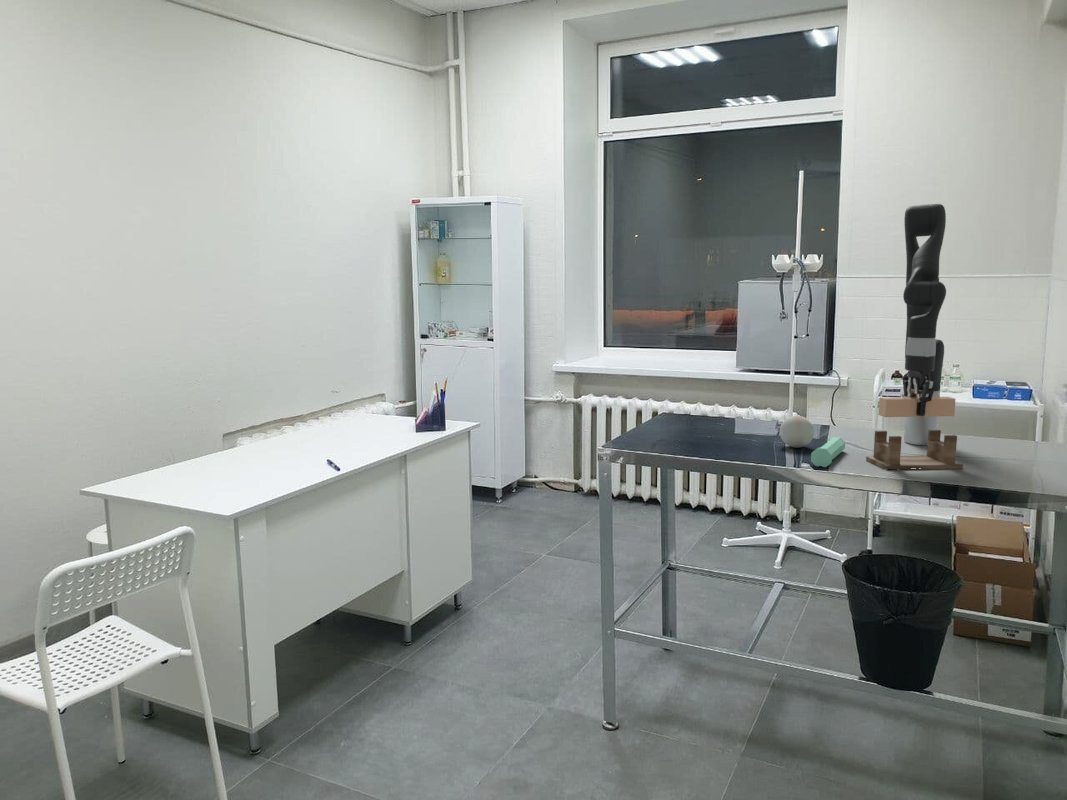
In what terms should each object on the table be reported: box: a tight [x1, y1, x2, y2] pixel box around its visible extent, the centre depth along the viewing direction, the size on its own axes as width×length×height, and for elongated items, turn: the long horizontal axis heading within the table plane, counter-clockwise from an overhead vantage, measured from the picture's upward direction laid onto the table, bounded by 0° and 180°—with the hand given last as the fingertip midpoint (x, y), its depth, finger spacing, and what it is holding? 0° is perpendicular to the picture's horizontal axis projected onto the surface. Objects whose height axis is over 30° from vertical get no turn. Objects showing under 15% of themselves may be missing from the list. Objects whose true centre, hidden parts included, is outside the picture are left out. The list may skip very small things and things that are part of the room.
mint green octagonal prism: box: [810, 436, 846, 468], centre depth 246 cm, size 6×6×25 cm
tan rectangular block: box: [878, 396, 956, 418], centre depth 235 cm, size 4×20×5 cm, turn 94°
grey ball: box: [779, 415, 815, 449], centre depth 261 cm, size 10×10×10 cm
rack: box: [865, 429, 964, 471], centre depth 237 cm, size 12×22×9 cm, turn 94°
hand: (916, 414), depth 236 cm, fingers closed on tan rectangular block, 4 cm apart
